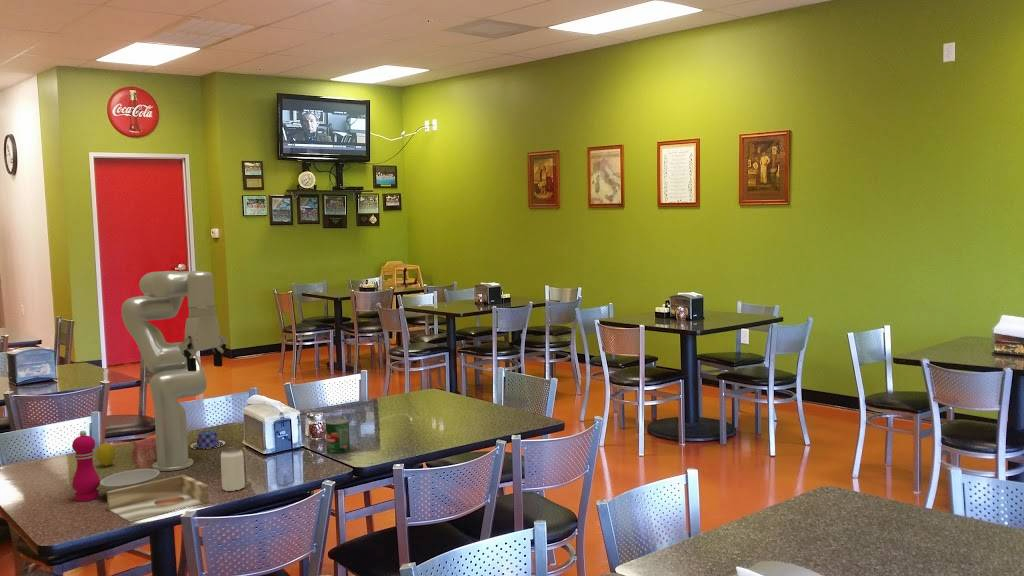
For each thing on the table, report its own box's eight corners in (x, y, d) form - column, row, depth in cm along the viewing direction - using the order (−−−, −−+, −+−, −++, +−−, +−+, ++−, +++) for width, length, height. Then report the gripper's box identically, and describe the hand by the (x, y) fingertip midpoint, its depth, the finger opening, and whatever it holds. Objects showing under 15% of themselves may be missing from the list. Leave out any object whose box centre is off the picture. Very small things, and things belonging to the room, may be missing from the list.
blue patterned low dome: (204, 452, 301) (203, 437, 301) (183, 448, 308) (182, 433, 308) (232, 444, 311) (232, 430, 311) (211, 440, 318) (210, 426, 317)
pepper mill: (82, 503, 247) (77, 434, 245) (68, 499, 251) (63, 431, 249) (105, 496, 253) (101, 429, 251) (91, 492, 257) (87, 426, 255)
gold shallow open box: (107, 509, 241) (106, 491, 241) (184, 490, 257) (183, 474, 256) (129, 522, 230) (128, 504, 229) (208, 502, 245) (208, 485, 245)
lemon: (93, 467, 284) (92, 444, 283) (107, 463, 289) (105, 439, 288) (106, 469, 281) (104, 445, 281) (119, 464, 287) (118, 441, 286)
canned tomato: (353, 450, 299) (352, 418, 299) (344, 456, 292) (343, 424, 291) (332, 449, 301) (331, 418, 300) (322, 455, 294) (321, 423, 293)
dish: (137, 482, 266) (136, 466, 266) (172, 487, 260) (171, 471, 260) (88, 499, 250) (87, 482, 250) (124, 505, 244) (123, 488, 244)
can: (237, 492, 254) (236, 452, 253) (217, 491, 255) (216, 451, 254) (248, 485, 260) (247, 446, 259) (229, 484, 262) (227, 446, 261)
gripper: (216, 309, 270) (219, 364, 271) (169, 315, 256) (173, 372, 257) (233, 310, 267) (236, 365, 268) (186, 315, 252) (189, 373, 253)
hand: (205, 368), depth 262 cm, fingers open, 9 cm apart
